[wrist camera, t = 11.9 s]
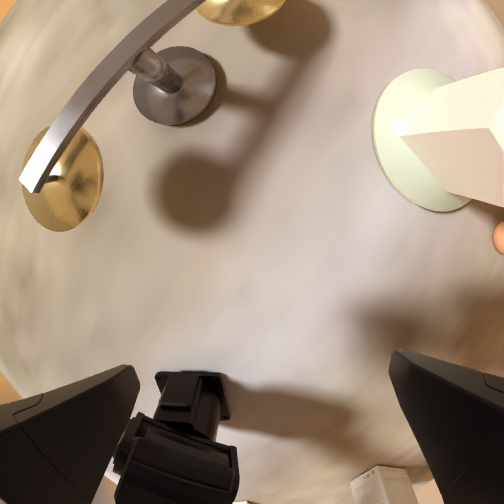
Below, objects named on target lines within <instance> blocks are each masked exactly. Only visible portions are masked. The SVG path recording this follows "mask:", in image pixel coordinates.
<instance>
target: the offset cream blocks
mask: <svg viewBox="0 0 504 504" xmlns="http://www.w3.org/2000/svg"><path fill="white" fill-rule="evenodd" d="M399 137H400V138H401V140H402V141H403V142H404V143H405V144H406V145H407V146H408V147H409V148H410V149H411V151H412V152H413V153H414V154H415V155H416V156H417V157H418V158H419V160H420V161H421V162H422V163H423V164H424V166H425V167H426V168H427V169H428V170H429V172H430V173H431V174H432V175H433V176H434V178H435V179H436V180H437V182H438V183H439V184H440V185H441V187H442V188H443V189H444V191H445V192H449V193H453V194H457V195H461V196H465V197H469V198H472V199H476V200H479V201H483V202H486V203H490V204H493V205H496V206H500V207H503V208H504V68H500V69H496V70H493V71H489V72H486V73H482V74H479V75H476V76H472V77H469V78H466V79H463V80H459V81H456V82H453V83H450V84H447V85H444V86H441V87H438V88H436V89H435V90H434V92H433V93H432V94H431V96H430V97H429V98H428V100H427V101H426V102H425V103H424V105H423V106H422V107H421V109H420V110H419V111H418V112H417V114H416V115H415V116H414V117H413V119H412V120H411V121H410V123H409V124H408V125H407V126H406V128H405V129H404V130H403V131H402V133H401V134H400V135H399Z"/></svg>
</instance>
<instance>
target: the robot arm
mask: <svg viewBox="0 0 504 504" xmlns="http://www.w3.org/2000/svg"><path fill="white" fill-rule="evenodd" d="M389 376H390V379H391V382H392V384H393V387H394V390H395V393H396V396H397V399H398V402H399V404H400V407H401V409H402V411H403V413H404V415H405V417H406V419H407V421H408V423H409V425H410V427H411V429H412V431H413V433H414V435H415V438H416V440H417V442H418V444H419V446H420V448H421V450H422V452H423V455H424V457H425V459H426V461H427V463H428V466H429V468H430V470H431V472H432V475H433V477H434V479H435V482H436V484H437V486H438V488H439V491H440V493H441V495H442V498H443V501H444V504H504V378H503V377H499V376H495V375H491V374H487V373H482V372H479V371H475V370H472V369H469V368H465V367H462V366H459V365H455V364H452V363H449V362H445V361H442V360H439V359H436V358H432V357H429V356H426V355H423V354H420V353H417V352H414V351H411V350H407V349H404V348H402V349H397V350H394V351H393V352H392V356H391V361H390V366H389ZM160 377H161V378H160ZM215 378H218V379H215ZM155 380H156V382H157V385H158V388H159V390H160V393H161V397H160V400H159V404H158V407H157V409H156V412H155V414H154V416H153V419H152V418H150V417H147V416H145V415H144V414H143V413H141V412H138V414H137V415H136V417H133V418H132V419H130V417H131V414H132V411H133V408H134V405H135V402H136V399H137V396H138V393H139V390H140V382H139V379H138V377H137V374H136V372H135V369H134V367H133V366H132V365H120V366H117V367H115V368H112V369H110V370H107V371H104V372H102V373H99V374H96V375H94V376H91V377H88V378H86V379H83V380H80V381H77V382H74V383H72V384H69V385H66V386H63V387H60V388H57V389H55V390H52V391H49V392H46V393H45V394H44V393H42V394H39V395H36V396H32V397H29V398H26V399H22V400H19V401H15V402H11V403H7V404H3V405H0V504H91V502H92V501H93V498H94V496H95V494H96V491H97V489H98V487H99V485H100V482H101V480H102V478H103V476H104V473H105V471H106V469H107V467H108V464H109V462H110V460H111V458H112V456H113V458H114V461H113V464H114V467H113V472H114V473H116V474H118V475H120V476H121V477H120V480H119V483H118V485H117V488H116V491H115V494H114V499H115V502H116V504H233V502H234V500H235V498H236V495H237V492H238V488H239V480H240V479H239V468H238V458H237V448H236V447H235V446H231V445H230V446H228V445H224V444H221V443H218V442H216V436H217V430H218V425H219V420H229V419H230V416H231V414H230V410H229V406H228V402H227V398H226V393H225V389H224V385H223V380H222V376H221V375H220V374H218V373H174V372H157V373H156V375H155Z"/></svg>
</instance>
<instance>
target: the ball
mask: <svg viewBox="0 0 504 504" xmlns="http://www.w3.org/2000/svg"><path fill="white" fill-rule="evenodd" d="M493 242H494V245H495V247H496V249H497V250H498V251H499V252H500V253H502V254H504V221H503V222H501V223H499V224H498V225H497V226H496V228H495V230H494V233H493Z"/></svg>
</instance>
